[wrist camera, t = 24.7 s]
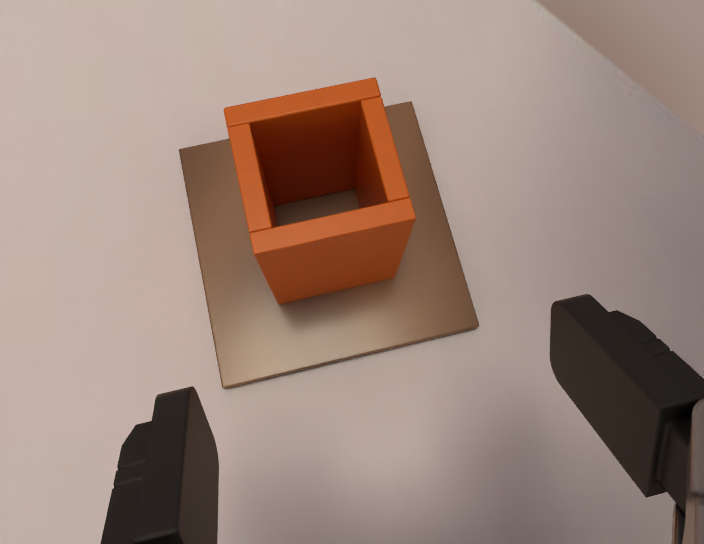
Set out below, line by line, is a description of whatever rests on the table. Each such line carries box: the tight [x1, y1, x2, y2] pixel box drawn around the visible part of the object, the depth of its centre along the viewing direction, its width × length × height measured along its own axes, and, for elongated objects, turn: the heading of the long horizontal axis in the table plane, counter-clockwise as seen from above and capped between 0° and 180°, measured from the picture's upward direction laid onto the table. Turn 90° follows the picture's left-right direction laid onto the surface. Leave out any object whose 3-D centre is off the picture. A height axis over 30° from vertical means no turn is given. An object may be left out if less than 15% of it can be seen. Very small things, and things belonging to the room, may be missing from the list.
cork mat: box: [179, 101, 479, 389], centre depth 28 cm, size 12×12×1 cm
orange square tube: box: [224, 78, 416, 304], centre depth 24 cm, size 6×6×8 cm
